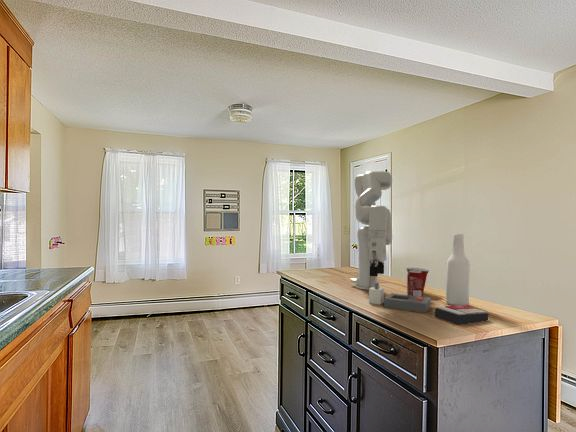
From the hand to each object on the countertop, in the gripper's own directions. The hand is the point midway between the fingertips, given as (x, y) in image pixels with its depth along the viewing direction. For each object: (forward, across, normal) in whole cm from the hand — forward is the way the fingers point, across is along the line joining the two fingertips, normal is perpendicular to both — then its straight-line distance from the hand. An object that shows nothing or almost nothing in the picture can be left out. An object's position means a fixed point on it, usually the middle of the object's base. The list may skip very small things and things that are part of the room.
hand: (377, 274), depth 153 cm
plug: (+12, +1, 0) cm, 12 cm away
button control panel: (+13, -6, -33) cm, 36 cm away
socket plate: (+12, +1, -13) cm, 17 cm away
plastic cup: (+11, +33, -11) cm, 36 cm away
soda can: (+12, +21, -12) cm, 27 cm away
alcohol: (+12, +18, -30) cm, 37 cm away
